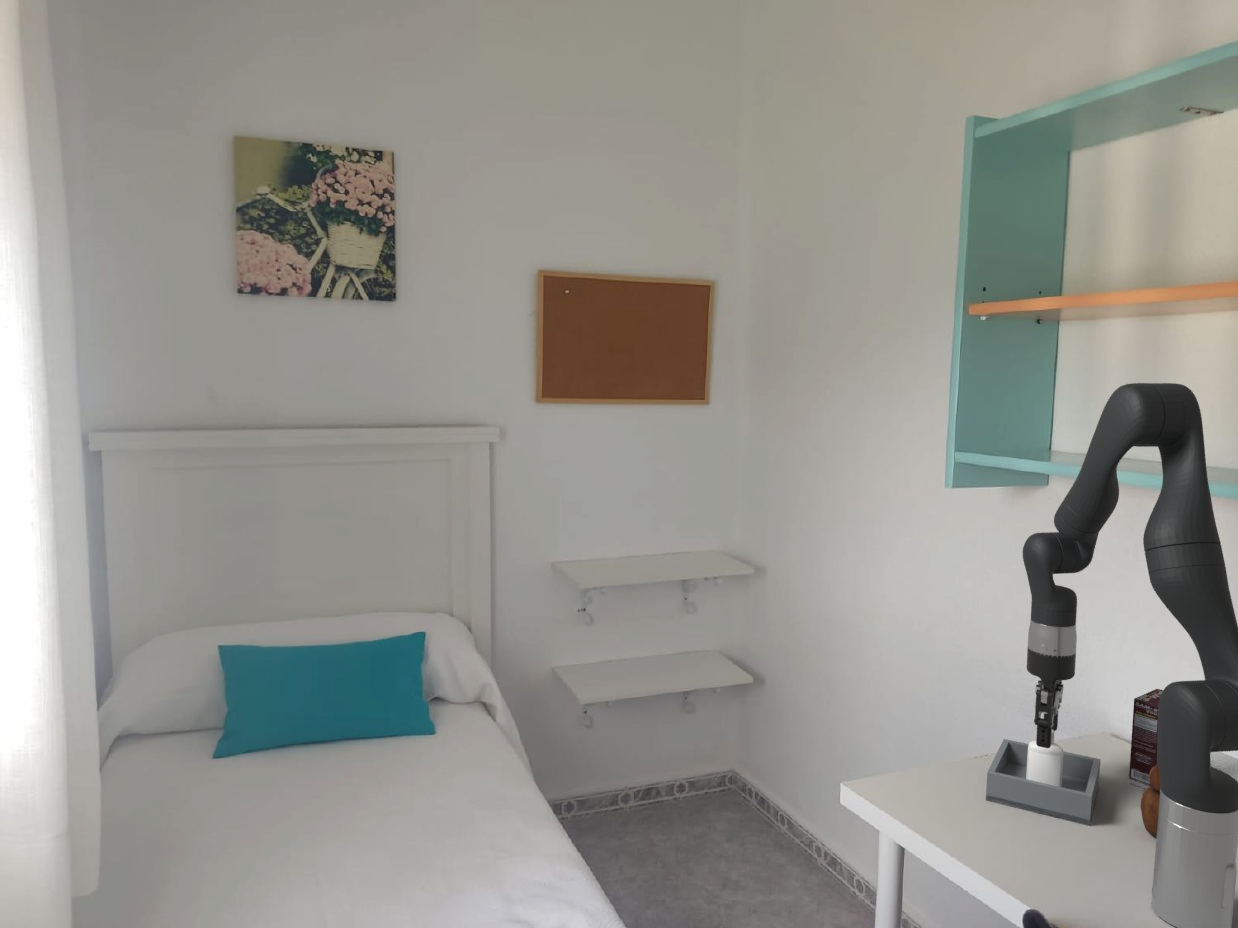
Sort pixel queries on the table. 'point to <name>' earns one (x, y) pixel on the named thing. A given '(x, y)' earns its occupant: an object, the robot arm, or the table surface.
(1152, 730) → the supplement box
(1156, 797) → the wooden figurine
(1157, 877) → the robot arm
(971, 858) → the table surface
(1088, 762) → the box
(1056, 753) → the eye dropper bottle
